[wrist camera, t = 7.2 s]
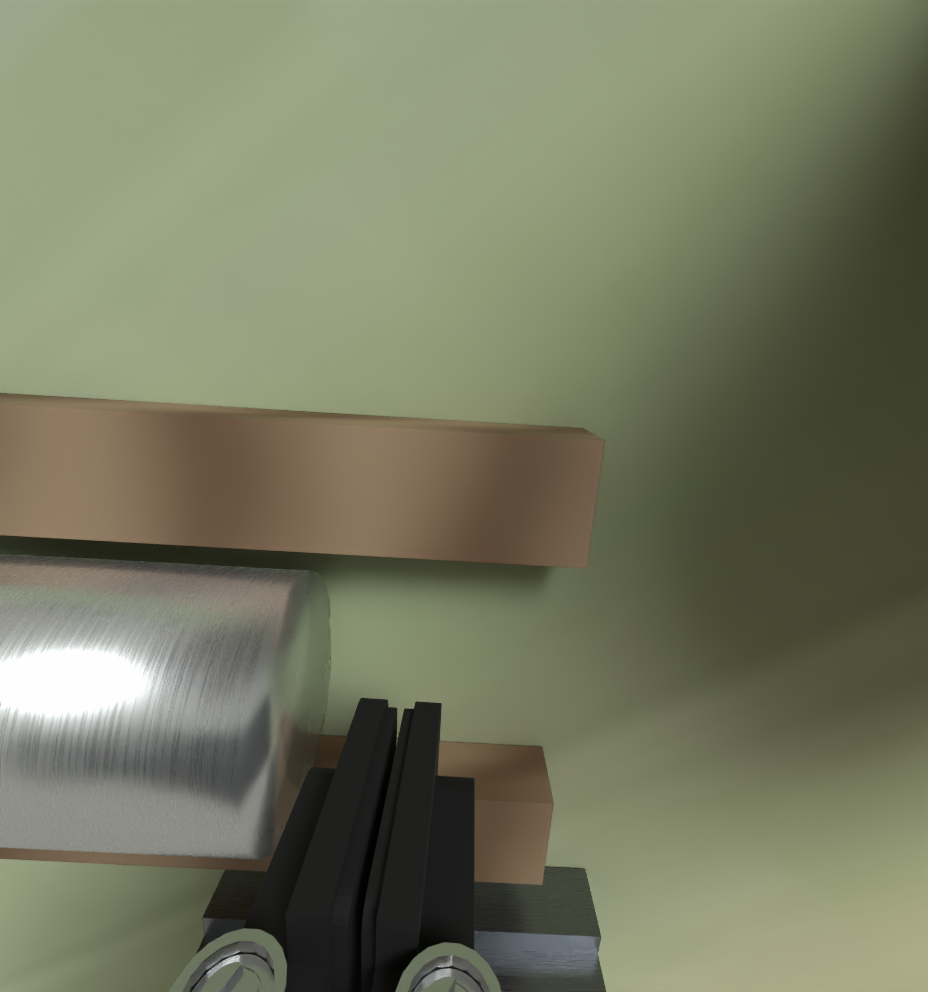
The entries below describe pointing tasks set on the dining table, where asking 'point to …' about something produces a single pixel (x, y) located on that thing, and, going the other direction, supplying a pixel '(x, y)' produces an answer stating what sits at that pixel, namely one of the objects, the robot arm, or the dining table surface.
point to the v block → (485, 928)
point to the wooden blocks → (316, 532)
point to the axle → (157, 704)
